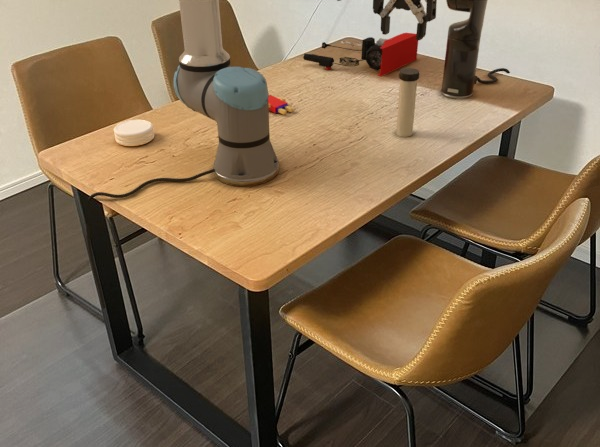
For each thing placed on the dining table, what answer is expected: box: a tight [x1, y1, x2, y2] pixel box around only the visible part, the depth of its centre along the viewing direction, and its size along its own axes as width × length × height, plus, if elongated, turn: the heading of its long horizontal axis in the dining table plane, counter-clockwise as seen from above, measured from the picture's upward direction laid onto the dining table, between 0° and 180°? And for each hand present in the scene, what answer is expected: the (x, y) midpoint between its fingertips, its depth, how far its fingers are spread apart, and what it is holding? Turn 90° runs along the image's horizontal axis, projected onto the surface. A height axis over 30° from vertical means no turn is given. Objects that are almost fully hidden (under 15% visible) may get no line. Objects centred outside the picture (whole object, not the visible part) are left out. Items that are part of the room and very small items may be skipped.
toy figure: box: [268, 94, 294, 115], centre depth 178 cm, size 2×7×12 cm
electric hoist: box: [302, 32, 419, 77], centre depth 210 cm, size 10×27×30 cm
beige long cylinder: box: [395, 79, 418, 138], centre depth 158 cm, size 4×4×16 cm
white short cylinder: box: [113, 118, 155, 147], centre depth 161 cm, size 10×10×4 cm
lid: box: [398, 67, 420, 81], centre depth 154 cm, size 5×5×2 cm
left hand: (358, 4), depth 166 cm, fingers open, 13 cm apart
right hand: (402, 36), depth 140 cm, fingers open, 8 cm apart
